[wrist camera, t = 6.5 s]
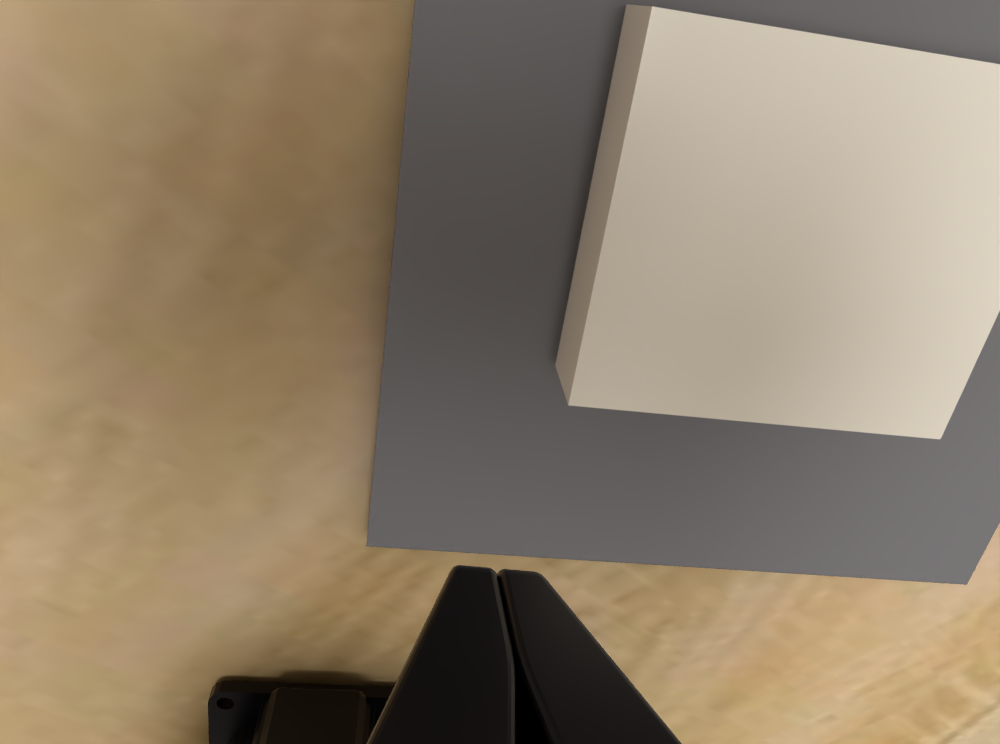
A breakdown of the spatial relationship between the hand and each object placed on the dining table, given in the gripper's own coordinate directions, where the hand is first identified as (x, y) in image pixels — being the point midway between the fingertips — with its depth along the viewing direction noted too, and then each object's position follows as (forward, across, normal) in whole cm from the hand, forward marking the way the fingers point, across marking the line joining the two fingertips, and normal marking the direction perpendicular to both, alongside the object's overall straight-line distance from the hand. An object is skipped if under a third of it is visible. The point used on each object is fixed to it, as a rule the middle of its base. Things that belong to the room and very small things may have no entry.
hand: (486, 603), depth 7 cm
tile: (+10, -3, -2) cm, 10 cm away
